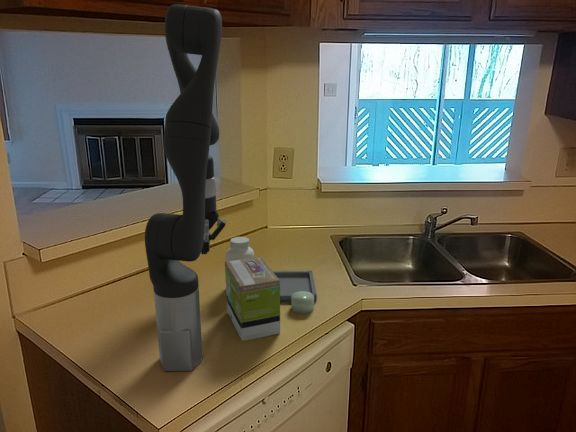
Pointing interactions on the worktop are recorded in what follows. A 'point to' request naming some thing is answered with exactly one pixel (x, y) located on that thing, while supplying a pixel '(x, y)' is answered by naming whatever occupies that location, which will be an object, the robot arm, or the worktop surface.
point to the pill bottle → (239, 249)
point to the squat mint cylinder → (302, 302)
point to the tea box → (253, 298)
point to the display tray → (295, 283)
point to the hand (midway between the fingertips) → (204, 253)
